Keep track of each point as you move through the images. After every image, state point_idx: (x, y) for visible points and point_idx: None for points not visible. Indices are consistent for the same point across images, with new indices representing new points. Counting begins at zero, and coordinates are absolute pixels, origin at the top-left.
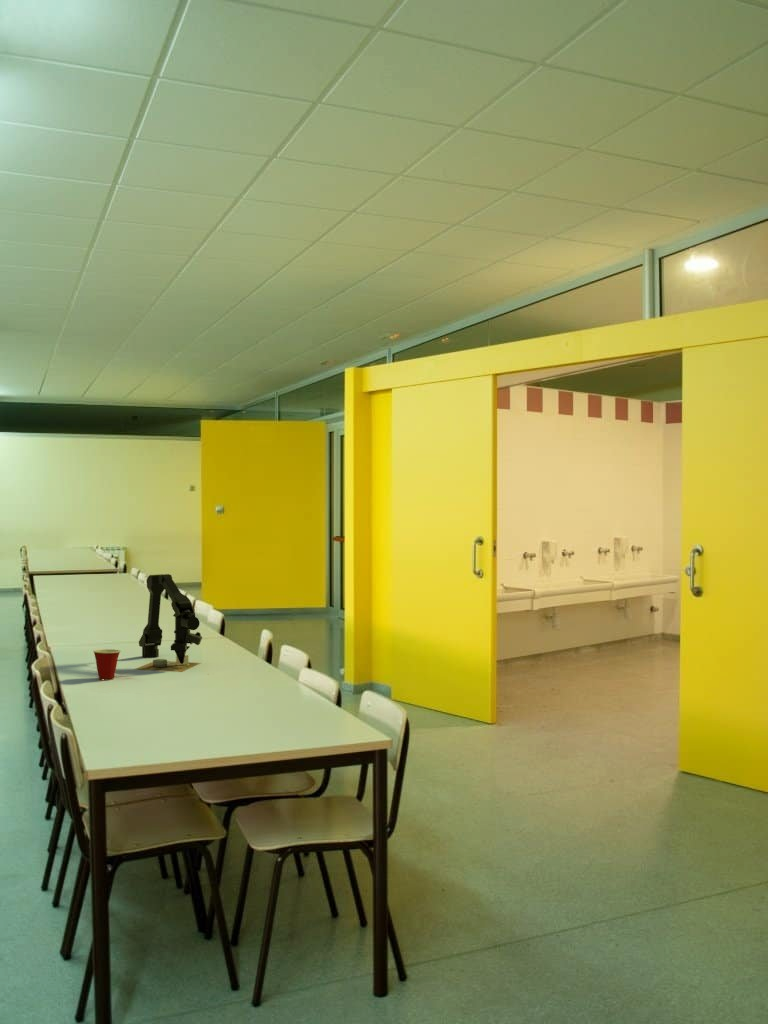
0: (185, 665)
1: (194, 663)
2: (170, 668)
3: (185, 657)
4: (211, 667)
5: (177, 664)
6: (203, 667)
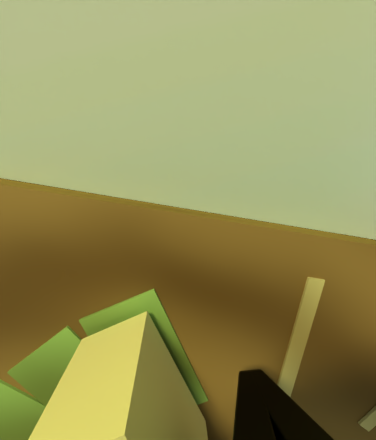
0: (174, 332)
1: (10, 265)
2: (334, 428)
3: (159, 435)
4: (67, 5)
5: (203, 422)
6: (85, 123)
